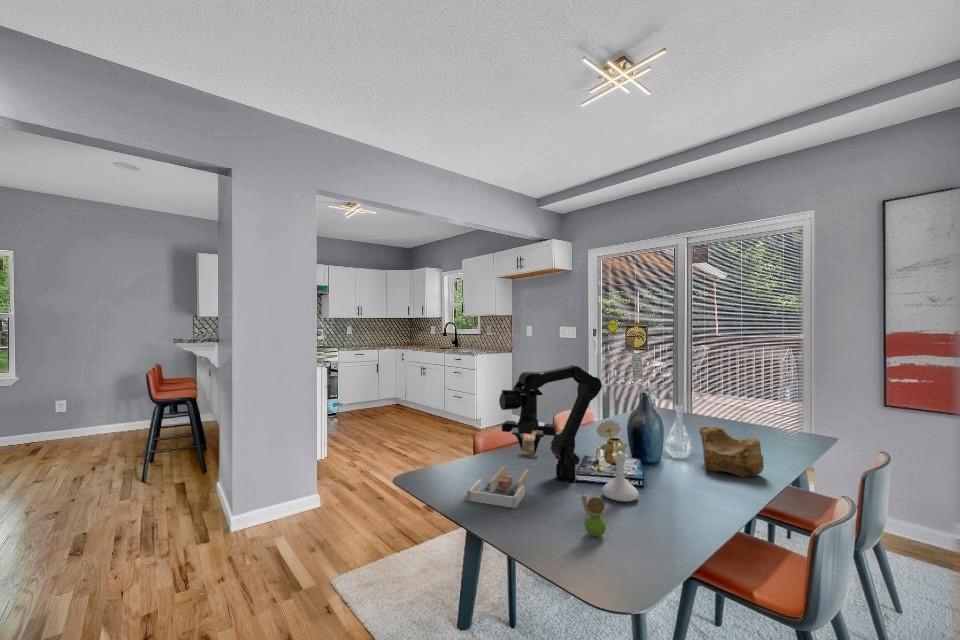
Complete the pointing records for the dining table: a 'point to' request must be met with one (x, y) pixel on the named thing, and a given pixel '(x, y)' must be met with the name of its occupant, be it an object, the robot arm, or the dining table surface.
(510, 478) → the brown cube
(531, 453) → the scraper
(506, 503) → the tray
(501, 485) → the chip
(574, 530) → the dining table surface
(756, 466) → the rough brown rock
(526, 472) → the channel
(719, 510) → the dining table surface
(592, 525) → the snail figurine
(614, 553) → the dining table surface
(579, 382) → the robot arm
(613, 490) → the flower in vase
